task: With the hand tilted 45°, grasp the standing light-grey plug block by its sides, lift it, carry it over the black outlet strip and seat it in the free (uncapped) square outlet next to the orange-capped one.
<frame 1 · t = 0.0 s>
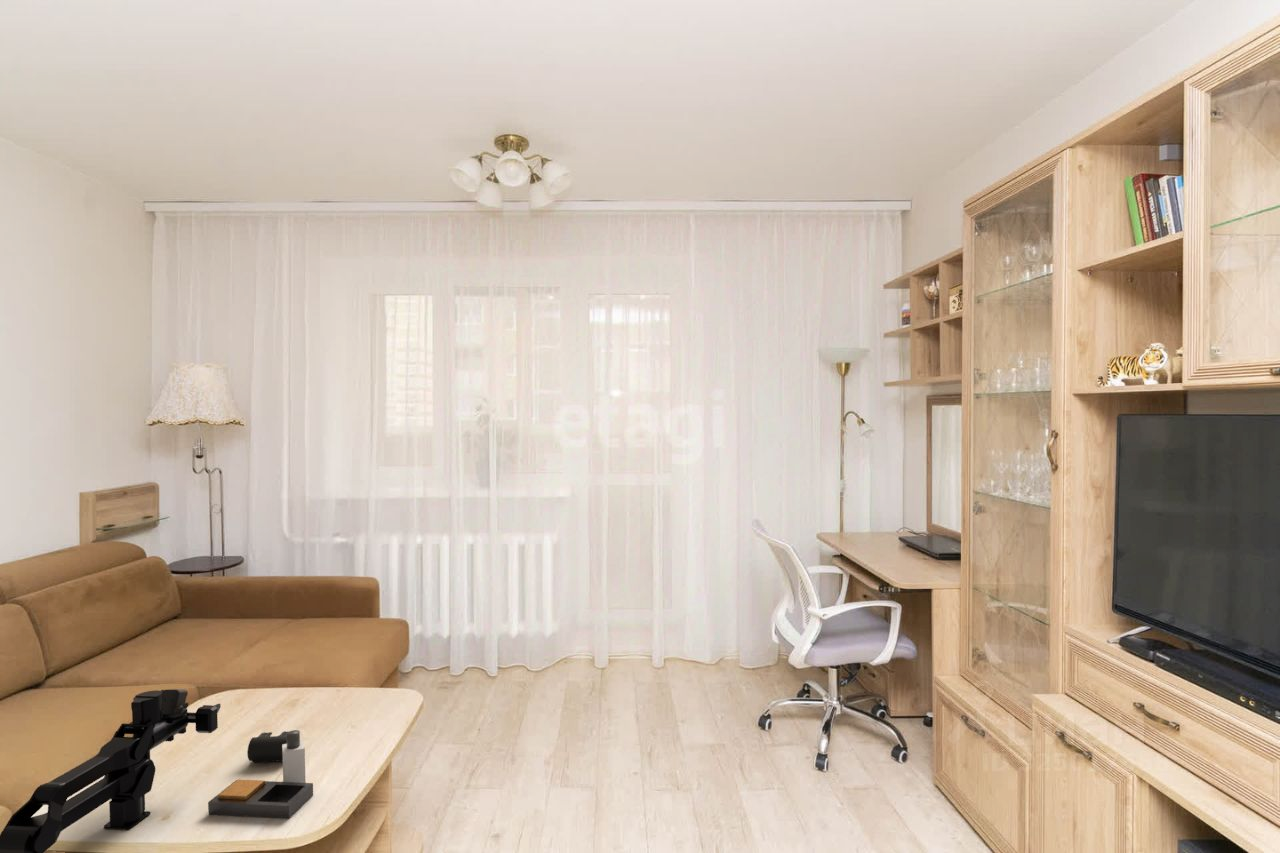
hand: (203, 704, 188), 17 cm above the table, tool horizontal, fingers open, 9 cm apart
end cap: (272, 761, 192), on the table
plug: (294, 783, 179), on the table
outlet strip: (262, 804, 170), on the table
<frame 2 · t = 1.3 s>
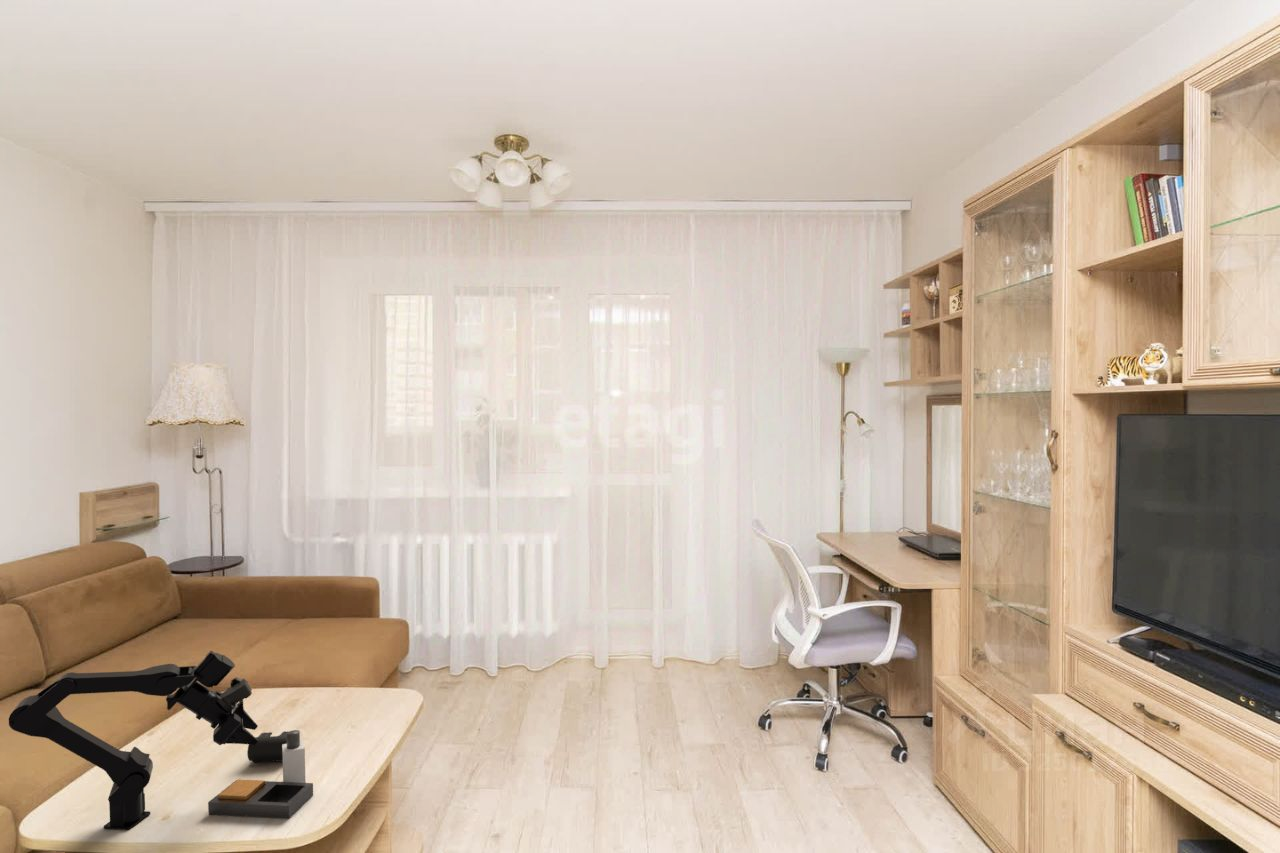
hand: (256, 735, 176), 14 cm above the table, tool tilted 45°, fingers open, 9 cm apart
nothing on the table moved.
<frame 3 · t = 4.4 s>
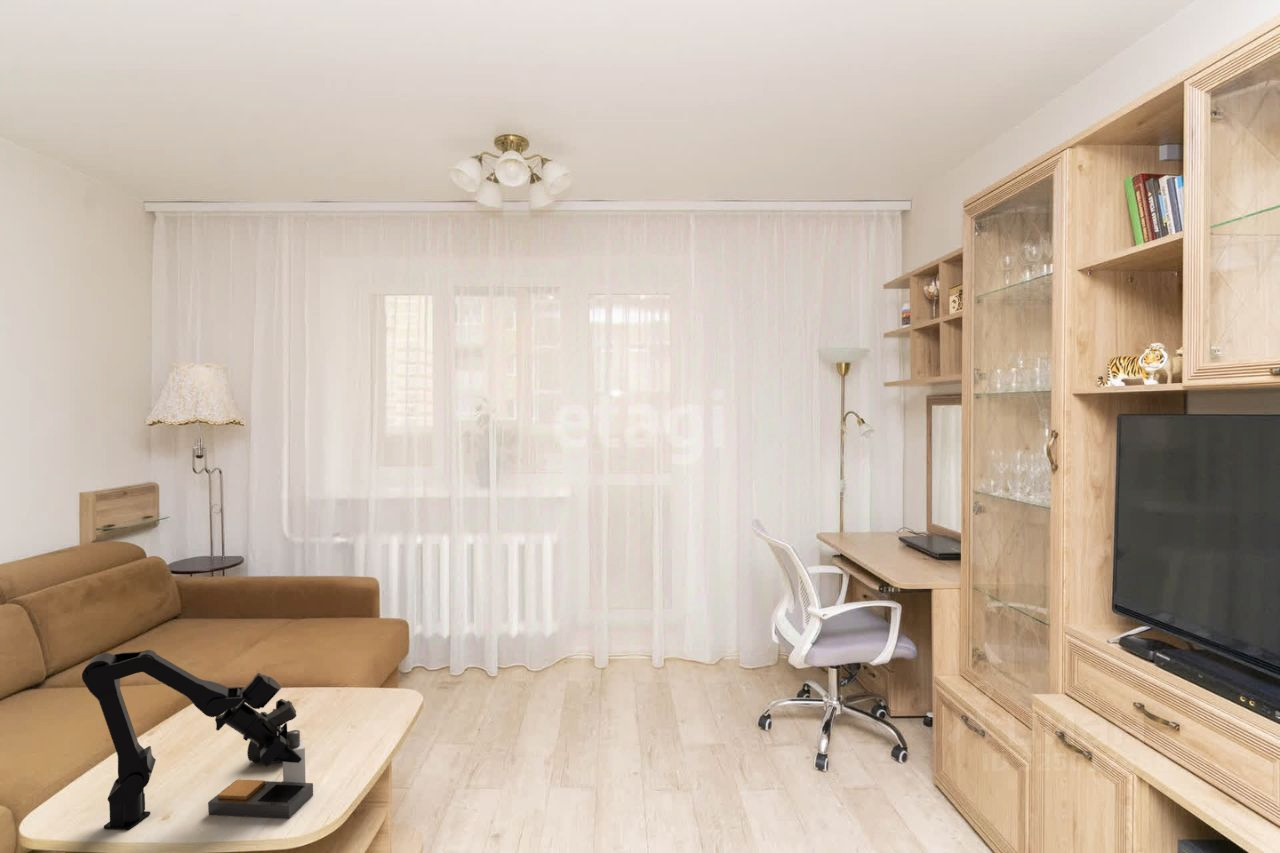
hand: (299, 756, 180), 7 cm above the table, tool tilted 45°, fingers closed on plug, 5 cm apart
plug: (294, 783, 179), on the table, touching gripper
everything else where it was.
when the fingers open (8 cm above the table, at t = 7.8 s): plug drops 1 cm, resting on outlet strip.
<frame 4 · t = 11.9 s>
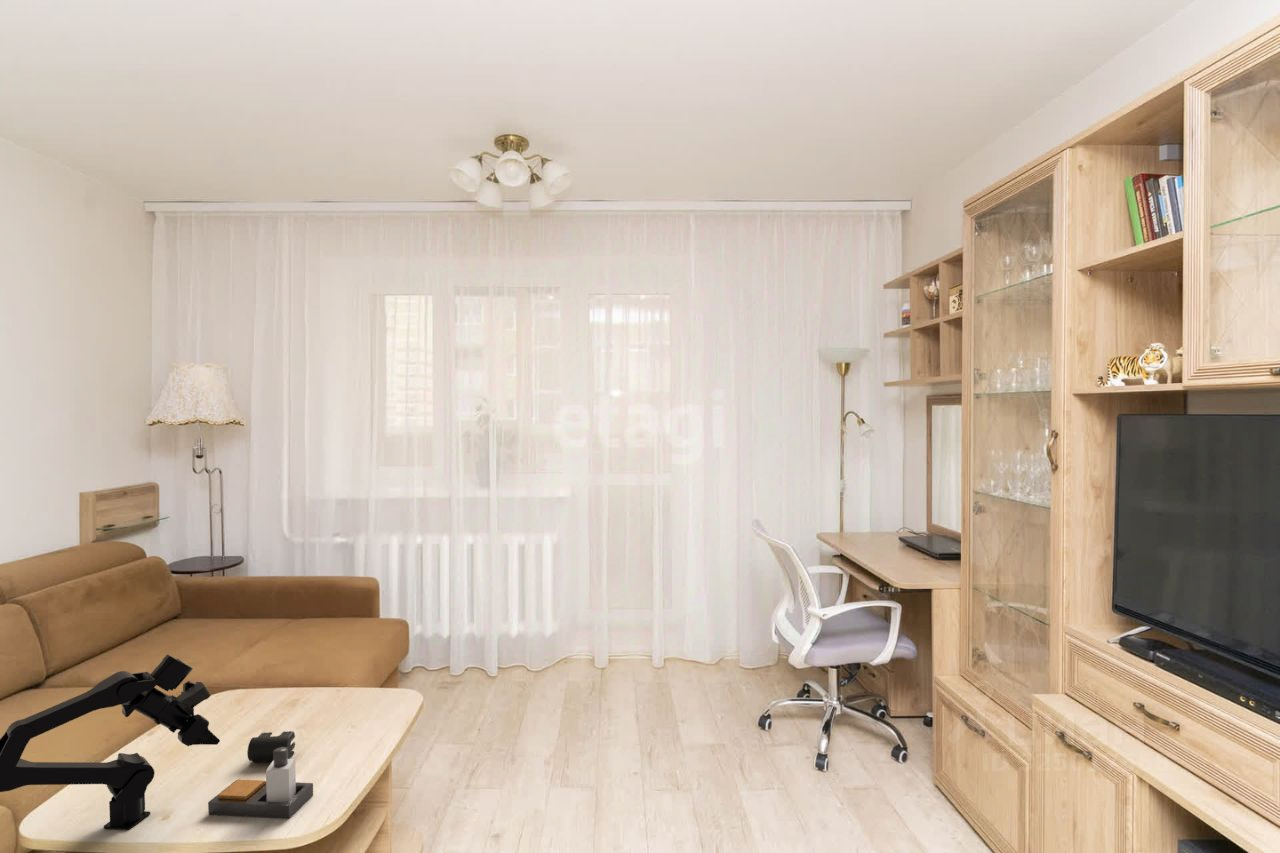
hand: (212, 736, 176), 14 cm above the table, tool tilted 45°, fingers open, 9 cm apart
plug: (281, 803, 169), resting on outlet strip
everything else where it was.
at the end: plug 0.0 cm from the target spot on the outlet strip, point 0.5 cm above the outlet strip's base; plug tilted 0°; the gripper is holding nothing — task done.
